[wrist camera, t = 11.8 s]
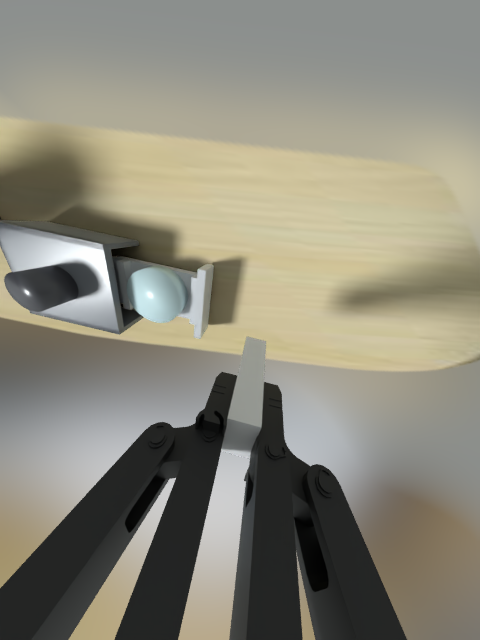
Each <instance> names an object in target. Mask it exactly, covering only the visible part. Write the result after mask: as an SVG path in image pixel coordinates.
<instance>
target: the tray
mask: <svg viewBox="0 0 480 640" xmlns="http://www.w3.org/2000/svg"><path fill="white" fill-rule="evenodd" d="M112 259H113V265H114V270H115V276H116V282H117V288H118V294H119V300H120V303H123V305H124V308H125V309H129V310H131V309H133V308H134V307H133V306H132V304H131V303H130V301H129V298H128V295H127V282H128V279H129V277H130V276H131V275H132V274H133V273H134V272H136V271H138V270H141V269H144V268H148V267H151V266H157V265H158V266H164V265H160V264H155V263H151V262H146V261H141V260H137V259H132V258H128V257H123V256H114V257H112ZM164 267H167V268H169V269H171V270H173V271H174V272H175V273H176V274H178V275H179V276H180V278H181V279H182V280H183V282H184V284H185V286H186V288H187V292H188V302H187V305H186V307H185V308H184V310H183V311H181V312H180V313H179V314H178V315H177V316H179V317H183V318H188V319H190V324H194V325H195V326H194V337H195V338H199V339H201V337H202V335H203V334H204V332H205V331H206V329H207V327H208V320H209V310H210V300H211V290H212V280H213V270H214V265H211V264H206V265H204V266H202V267H200V268H199V269H198V273H197V272H192V271H187V270H183V269H178V268H174V267H169V266H164Z"/></svg>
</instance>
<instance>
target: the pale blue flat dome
mask: <svg viewBox="0 0 480 640" xmlns="http://www.w3.org/2000/svg"><path fill="white" fill-rule="evenodd" d="M127 295H128V298H129V301H130V303H131V304H132V306H133V307H134V309H135V310H136V311H137V312H138V313H139V314H140V315H142V316H143V317H145V318H146V319H148V320H150V321H153V322H158V323H165V322H169V321H171V320H173V319H174V318H175V317H176V316H177V315H178V314H179V313H180V312H181V311H183V310H184V308H185V307H186V305H187V302H188V292H187V288H186V286H185V284H184V282H183V280H182V279H181V278H180V276H179V275H178V274H176V273H175V272H174V271H173V270H171V269H169V268H167V267H164V266H158V265H157V266H151V267H148V268H144V269H141V270H138V271H136V272H134V273H133V274H132V275H131V276H130V277H129V279H128V282H127Z"/></svg>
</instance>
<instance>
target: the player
mask: <svg viewBox="0 0 480 640" xmlns="http://www.w3.org/2000/svg"><path fill="white" fill-rule="evenodd" d="M131 246H139V242H138V241H137V240H133V239H128V238H123V237H118V236H114V235H109V234H104V233H100V232H95V231H90V230H85V229H81V228H76V227H71V226H67V225H62V224H57V223H52V222H48V221H16V220H0V247H1V249H2V251H3V253H4V256H5V258H6V260H7V262H8V264H9V267H10V269H11V271H12V272H11V273H8V274H6V276H5V279H4V282H5V286H6V288H7V290H8V292H9V293H10V295H11V296H12V297H13V298H14V300H15V301H16V302H18V303H19V304H20V305H21V306H23V307H24V308H26V309H28V310H29V311H30V313H32V314H36V315H40V316H44V317H49V318H53V319H57V320H61V321H65V322H69V323H74V324H78V325H82V326H86V327H90V328H94V329H99V330H103V331H107V332H111V333H115V334H119V335H120V334H121V333H122V332H124V331H125V330H127V329H128V328H129V327H131V326H132V325H134V324H135V323H136V322H138V321H139V320H141V319H142V318H143V316H142V315H140V314H139V313H138V312H137V311H136V310H129V309H125V308H123V307H121V306H120V301H119V295H118V289H117V283H116V277H115V271H114V265H113V260H112V254H111V249H117V248H124V247H131Z"/></svg>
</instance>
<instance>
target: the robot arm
mask: <svg viewBox="0 0 480 640" xmlns="http://www.w3.org/2000/svg"><path fill="white" fill-rule="evenodd" d="M265 353H266V341H263V340H259V339H255V338H251V337H246V342H245V346H244V350H243V354H242V358H241V363H240V367H239V371H238V375H237V376H236V375H232V374H229V373H224V372H222V373H220V374H219V375H218V376H217V377H216V380H215V383H214V386H213V388H212V391H211V393H210V396H209V398H208V401H207V404H206V407H205V409H204V410H202V411H201V412H200V413H199V414H198V416H197V417H196V423H195V424H193V425H191V426H189V427H181V428H173V427H172V426H171V425H170V424H168V423H165V422H160V423H156V424H153V425H151V426H150V427H149V428H148V429H146V430H145V431H144V432H143V433H142V434H141V435H140V437H139V438H138V439H137V440H136V441H135V442H134V443H133V444H132V445H131V446H130V447H129V449H128V450H127V451H126V452H125V453H124V454H123V455H122V456H121V457H120V458H119V460H118V461H117V462H116V463H115V464H114V465H113V466H112V467H111V468H110V469H109V470H108V471H107V473H106V474H105V475H104V476H103V477H102V478H101V479H100V480H99V481H98V482H97V483H96V485H95V486H94V487H93V488H92V489H91V490H90V491H89V492H88V493H87V494H86V496H85V497H84V498H83V499H82V500H81V501H80V502H79V503H78V504H77V505H76V507H75V508H74V509H73V510H72V511H71V512H70V513H69V514H68V515H67V516H66V517H65V519H64V520H63V521H62V522H61V523H60V524H59V525H58V526H57V527H56V528H55V529H54V530H53V532H52V533H51V534H50V535H49V536H48V537H47V538H46V539H45V540H44V542H43V543H42V544H41V545H40V546H39V547H38V548H37V549H36V550H35V551H34V552H33V553H32V554H31V556H30V557H29V558H28V559H27V560H26V561H25V562H24V563H23V564H22V565H21V567H20V568H19V569H18V570H17V571H16V572H15V573H14V574H13V575H12V576H11V577H10V579H9V580H8V581H7V582H6V583H5V584H4V585H3V586H2V587H1V588H0V640H68V639H69V637H70V636H71V634H72V633H73V631H74V630H75V628H76V626H77V625H78V623H79V622H80V620H81V619H82V617H83V615H84V614H85V612H86V611H87V609H88V607H89V606H90V604H91V603H92V601H93V600H94V598H95V596H96V595H97V593H98V592H99V590H100V588H101V587H102V585H103V584H104V582H105V580H106V579H107V577H108V576H109V574H110V573H111V571H112V569H113V568H114V566H115V565H116V563H117V561H118V560H119V558H120V557H121V555H122V553H123V552H124V550H125V549H126V547H127V545H128V544H129V542H130V541H131V539H132V538H133V536H134V534H135V533H136V531H137V530H138V528H139V526H140V525H141V523H142V522H143V520H144V518H145V517H146V515H147V513H148V512H149V511H150V509H151V507H152V506H153V504H154V503H155V501H156V499H157V498H158V496H159V495H160V493H161V491H162V490H163V488H164V487H165V485H166V484H167V482H168V480H169V479H170V478H176V480H175V483H174V485H173V488H172V491H171V493H170V496H169V498H168V501H167V504H166V506H165V509H164V512H163V514H162V517H161V519H160V522H159V525H158V527H157V530H156V532H155V535H154V538H153V540H152V543H151V546H150V548H149V551H148V553H147V556H146V559H145V561H144V564H143V566H142V569H141V572H140V574H139V577H138V580H137V582H136V585H135V587H134V590H133V593H132V595H131V598H130V600H129V603H128V606H127V608H126V611H125V614H124V616H123V619H122V621H121V624H120V627H119V629H118V632H117V635H116V637H115V640H178V637H179V633H180V628H181V624H182V619H183V615H184V611H185V606H186V602H187V597H188V593H189V589H190V584H191V580H192V575H193V571H194V567H195V562H196V557H197V553H198V549H199V545H200V540H201V536H202V531H203V527H204V523H205V519H206V514H207V510H208V505H209V501H210V496H211V492H212V488H213V483H214V479H215V475H216V470H217V466H218V461H219V457H220V452H221V451H223V452H227V453H230V454H234V455H238V456H241V457H244V458H248V459H249V457H250V465H249V468H248V470H247V473H246V475H245V479H244V481H246V487H245V496H244V507H243V515H242V525H241V534H240V544H239V554H238V563H237V572H236V582H235V591H234V601H233V611H232V620H231V629H230V639H229V640H302V627H301V612H300V599H299V586H298V571H297V558H296V551H297V556H298V561H299V565H300V570H301V574H302V579H303V584H304V589H305V593H306V598H307V602H308V607H309V612H310V617H311V621H312V626H313V630H314V635H315V639H316V640H407V639H406V636H405V634H404V632H403V630H402V627H401V625H400V623H399V620H398V618H397V615H396V613H395V611H394V609H393V606H392V604H391V602H390V599H389V597H388V595H387V592H386V590H385V588H384V585H383V583H382V581H381V579H380V576H379V574H378V572H377V569H376V567H375V565H374V562H373V560H372V558H371V555H370V553H369V551H368V548H367V546H366V544H365V542H364V539H363V537H362V535H361V532H360V530H359V528H358V525H357V523H356V521H355V519H354V516H353V514H352V512H351V509H350V507H349V505H348V502H347V500H346V498H345V496H344V493H343V491H342V489H341V486H340V484H339V482H338V481H337V479H336V477H335V476H334V475H333V474H332V472H331V471H330V470H329V469H327V468H326V467H324V466H322V465H318V464H316V465H312V466H309V465H308V464H306V463H305V462H303V461H302V460H300V459H298V458H297V457H296V456H295V455H293V454H292V452H291V451H290V450H289V449H288V447H287V445H286V443H285V440H284V429H283V412H282V394H281V391H280V389H279V387H278V385H273V384H270V383H266V382H264V371H265Z"/></svg>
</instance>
